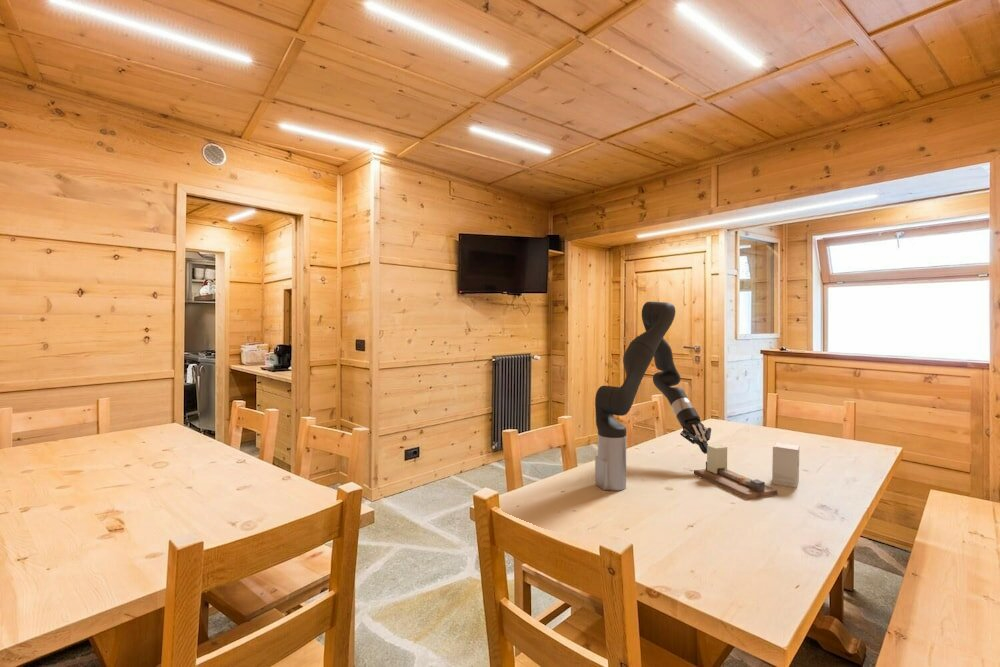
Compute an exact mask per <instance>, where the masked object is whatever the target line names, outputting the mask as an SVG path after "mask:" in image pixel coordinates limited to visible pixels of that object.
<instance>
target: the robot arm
mask: <svg viewBox="0 0 1000 667" xmlns="http://www.w3.org/2000/svg"><path fill="white" fill-rule="evenodd" d="M675 307H676V306H674V304H672V303H670V302H667V301H666V302H664V301H663V302H661V301H646V302H644V304H643V306H642V308H641V319H642V320H641V321H642V324H643V328H644V330H645V332H642V333H640V334H639V335H637V336H636V337H635V338H633V339H632V340H631V341H630V343H629V344H628V347H627V348H626V350H625V352H624V354H623V356H622V362H623V369H624V371H625V379H624V381H623V382H622V385H621V386H613V385H612V386H611V385H601V386H599V388H598V389H597V390H596V394H595V397H594V398H595V399H594V400H595V401H594V402H595V403H594V406H595V408H594V409H595V424H596V428H597V455H595V459H594V460H595V461H594V462H595V463H594V465H595V466H594V468H595V469H594V484H595V485H596V486H597V487H599V488H600V489H602V490H604V491H622V490H625V489H626V488H627V427H626V426H625V425H624V424H622V423H621V422H620V421H618V420H617V419H616V417H615V416H620V417H621V416H626V415H627V414H628V413H629V411H630V410H631V408H632V407H633V403H634V400H635V398H636V396H637V393H638V390H639V387H640V385H641V382H642V381H643V378H644V376H645V374H646V372H647V370H648V368H649V367H650V364H651V362H652V360H653V359H654V366H655V368H656V370H658V372H656V373H654V374H653V376H652V383H653V384H654V386H655V387H656V388H657V390H659V391H660V392H661V393H662V394H663V395H664V397H665V398H666V399H667V402H669V405H670V407H671V409H672V412H673V413H674V416H675V417H676V419H677V421H678V423H679V425H680V426H681V427H682V429H683V430H682V431H681V432H680V433H679V434H680V436H681V437H683V439H685V440H687V441H688V442H689V443H691V444H693V445H697V446H698V447H699V449H700V451H701V452H702V453H703V455H707V445H709V444H708V441H709V440H711V435H712V428H711V427H706V426H705V425H704V424H703V423H702V422H701V418H700V416H699V413H698V412H697V410H696V409H695V407H694V405H693V403H692V402H691V401H690V399H689V397H688V396H687V394H686V393H685V390H684V389H683V388H682V387H679V386H677V385H679V384H680V382H681V374H680V373H679V371H678V369H677V368H676V366H675V365H676V364H675V363H674V356H673V350H672V348H671V345H670V343H668V341H667V340H666V339H665V338H664V337H665V335H666V334H667V332H668V331H669V330H670V327H671V326H672V324H673V322H674V319H675V317H676V308H675ZM676 386H677V387H676Z"/></svg>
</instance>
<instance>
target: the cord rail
mask: <svg viewBox="0 0 1000 667" xmlns="http://www.w3.org/2000/svg"><path fill="white" fill-rule="evenodd" d="M694 474H695V475H694ZM693 475H694V476H696V475H697V477H698V476H699V477H698V478H700V477H701V479H703V478H704V479H703V480H705V479H706V480H705V481H707V480H708V481H707V482H709V481H710V482H709V483H711V482H712V484H713V483H714V484H713V485H715V484H716V486H718V487H720V488H722V489H724V488H725V489H724V490H726V489H727V491H728V490H729V492H730V491H731V493H733V494H735V495H738V496H739V495H740V496H739V497H742V498H743V497H744V498H743V499H745V498H746V500H751V499H750V498H752V499H757V498H759V499H760V498H765V497H766V498H767V497H772V496H774V497H775V496H778V495H779V490H778V489H775V488H773V487H771V486H769V485H766V482H765V481H763V480H760V479H758V478H757V479H751V478H749V477H746V476H744V475H741V474H739V473H736V472H735V471H732V470H729V469H727V472H726V471H723V470H721V469H718V468H717V474H715V473H712V472H710V471H708V470H707V461H705V468H702V469H694V470H693Z"/></svg>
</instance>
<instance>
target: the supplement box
mask: <svg viewBox="0 0 1000 667" xmlns="http://www.w3.org/2000/svg"><path fill="white" fill-rule="evenodd" d="M771 470H772V471H771V472H772V473H771V474H772V475H771V476H772V477H771V478H772V480H771V483H772V484H775V485H781V486H784V487H785V486H786V487H791V488H798V485H799V480H800V445H798V444H791V443H782V442H774V444H773V447H772V469H771Z"/></svg>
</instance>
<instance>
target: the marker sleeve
mask: <svg viewBox="0 0 1000 667" xmlns="http://www.w3.org/2000/svg"><path fill="white" fill-rule="evenodd" d="M706 462H707V470H708V471H710V472H712V473H715V474H717V468H718V469H721V470H723V471H726V472H727V470H728V446H725V445H722V444H718V443H717V444H710V445H709V444H708V445H707V454H706Z"/></svg>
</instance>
